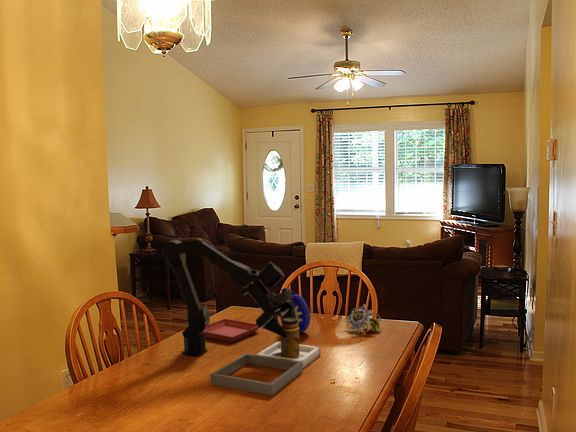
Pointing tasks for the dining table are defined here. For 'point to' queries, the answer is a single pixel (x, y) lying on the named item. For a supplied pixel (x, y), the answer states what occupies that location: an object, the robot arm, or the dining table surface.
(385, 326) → the dining table surface
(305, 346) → the tray
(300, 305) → the ornament
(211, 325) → the plant saucer
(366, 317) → the passion flower
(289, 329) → the condiment
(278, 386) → the gray square frame
